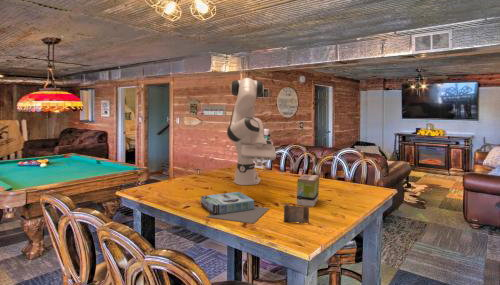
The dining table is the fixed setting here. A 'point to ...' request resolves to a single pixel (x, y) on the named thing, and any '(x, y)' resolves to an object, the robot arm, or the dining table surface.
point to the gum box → (227, 202)
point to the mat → (242, 215)
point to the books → (296, 213)
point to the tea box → (307, 190)
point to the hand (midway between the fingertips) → (259, 165)
